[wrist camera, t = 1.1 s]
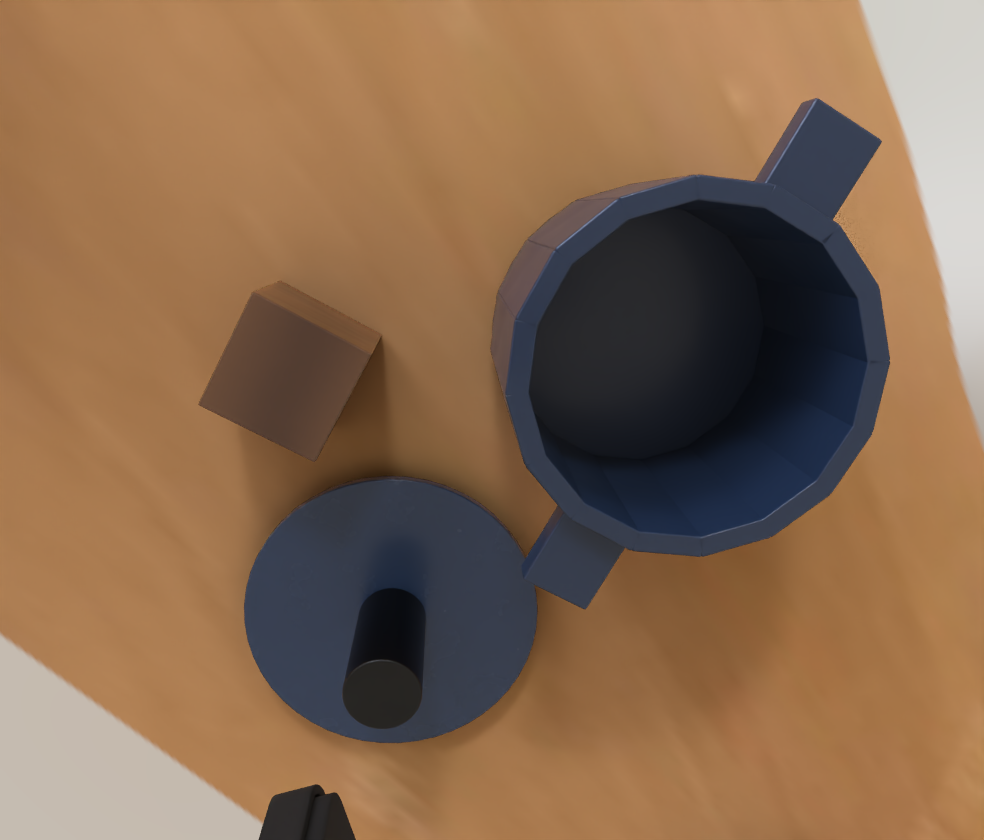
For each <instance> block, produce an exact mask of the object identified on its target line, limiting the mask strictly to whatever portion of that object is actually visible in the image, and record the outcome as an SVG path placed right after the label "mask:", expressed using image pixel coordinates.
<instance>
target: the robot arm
mask: <svg viewBox="0 0 984 840" xmlns="http://www.w3.org/2000/svg"><path fill="white" fill-rule="evenodd" d="M259 840H356V839H355V836H354V834H353V831H352V828H351V826H350V823H349V820H348V817H347V815H346V812H345V809H344V807H343V804H342V801H341V799H340V797H339V795H338V794H337V793H330V794H325V792H324V790H323V789H322V787H321V786H320V785H312V786H308V787H304V788H300V789H297V790H293V791H289V792H285V793H281V794H277V795H275V796H274V797H272V799H271V801H270V804H269V807H268V810H267V813H266V817H265V820H264V823H263V827H262V830H261V834H260V837H259Z"/></svg>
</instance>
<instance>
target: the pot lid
mask: <svg viewBox="0 0 984 840" xmlns="http://www.w3.org/2000/svg"><path fill="white" fill-rule="evenodd" d="M525 559H526V557H525V555H524V553H523V551H522V550H521V548H520V546H519V544H518V542H517V541H516V539H515V538H514V537H513V535H512V534H511V533H510V531H509V530H508V529H507V527H506V526H505V525H504V524H503V523H502V522H501V521H500V520H499V519H498V518H497V517H496V516H495V515H494V514H493V513H492V512H490V511H489V510H488V509H487V508H485V507H484V506H483V505H481V504H480V503H479V502H477V501H476V500H474V499H472V498H470V497H469V496H467V495H465V494H464V493H462V492H460V491H457V490H455V489H453V488H450V487H448V486H446V485H443V484H439V483H436V482H432V481H429V480H425V479H418V478H412V477H403V476H380V477H370V478H363V479H359V480H354V481H350V482H346V483H343V484H340V485H337V486H335V487H332V488H329V489H327V490H325V491H323V492H321V493H319V494H317V495H315V496H313V497H311V498H310V499H308V500H307V501H305V502H304V503H303V504H301V505H300V506H298V507H297V508H295V509H294V510H293V511H292V512H291V513H290V514H289V515H288V516H287V517H285V518H284V519H283V520H282V521H281V522H280V523H279V525H278V526H277V527H276V528H275V529H274V531H273V532H272V533H271V534H270V536H269V537H268V539H267V540H266V542H265V544H264V545H263V547H262V548H261V550H260V552H259V554H258V556H257V558H256V560H255V563H254V565H253V567H252V570H251V572H250V576H249V580H248V583H247V587H246V594H245V603H244V616H245V627H246V633H247V639H248V642H249V645H250V648H251V651H252V654H253V657H254V659H255V661H256V663H257V665H258V667H259V669H260V671H261V673H262V675H263V676H264V678H265V679H266V681H267V682H268V683H269V685H270V686H271V688H272V689H273V690H274V691H275V692H276V693H277V694H278V695H279V697H280V698H281V699H282V700H283V701H284V702H285V703H286V704H288V705H289V706H290V707H291V708H292V709H293V710H295V711H296V712H297V713H299V714H300V715H302V716H303V717H305V718H306V719H308V720H309V721H311V722H312V723H314V724H316V725H318V726H320V727H322V728H324V729H326V730H329V731H331V732H334V733H337V734H340V735H342V736H345V737H349V738H354V739H358V740H362V741H370V742H378V743H403V742H412V741H419V740H424V739H428V738H433V737H436V736H439V735H442V734H445V733H448V732H451V731H453V730H455V729H457V728H459V727H462V726H464V725H466V724H468V723H469V722H471V721H473V720H474V719H476V718H477V717H479V716H480V715H482V714H483V713H485V712H486V711H487V710H488V709H489V708H491V707H492V706H493V705H494V704H495V703H497V702H498V700H499V699H500V698H501V697H502V696H503V695H504V694H505V693H506V692H507V691H508V690H509V688H510V687H511V686H512V684H513V683H514V682H515V680H516V679H517V677H518V676H519V674H520V672H521V670H522V669H523V667H524V665H525V663H526V661H527V659H528V656H529V653H530V650H531V648H532V645H533V641H534V636H535V632H536V625H537V597H536V591H535V586H534V584H532V583H530V582H527V581H525V580H524V579H523V574H522V569H521V566H522V564H523V562H524V561H525Z"/></svg>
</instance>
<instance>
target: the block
mask: <svg viewBox="0 0 984 840" xmlns="http://www.w3.org/2000/svg"><path fill="white" fill-rule="evenodd" d="M380 338H381V334H379V333H378V332H376V331H374V330H372V329H370V328H368V327H366V326H364V325H362V324H361V323H359V322H357V321H355V320H353V319H351V318H349V317H347V316H346V315H344V314H342V313H340V312H338V311H336V310H334V309H332V308H331V307H329V306H327V305H325V304H323V303H321V302H319V301H317V300H316V299H314V298H312V297H310V296H308V295H306V294H304V293H302V292H301V291H299V290H297V289H295V288H293V287H291V286H289V285H287V284H286V283H284V282H282V281H278V282H275V283H273V284H271V285H268V286H266V287H263V288H261V289H259V290H256V291H254V292H252V294H251V296H250V298H249V300H248V302H247V304H246V306H245V308H244V310H243V312H242V314H241V317H240V319H239V321H238V323H237V325H236V327H235V329H234V331H233V333H232V335H231V337H230V339H229V341H228V343H227V346H226V348H225V350H224V352H223V354H222V356H221V358H220V360H219V362H218V364H217V366H216V368H215V370H214V372H213V374H212V377H211V379H210V381H209V383H208V385H207V387H206V389H205V391H204V393H203V395H202V397H201V399H200V401H199V405H200V406H202V407H204V408H206V409H208V410H210V411H212V412H214V413H216V414H218V415H220V416H222V417H224V418H226V419H228V420H230V421H232V422H234V423H236V424H238V425H240V426H242V427H244V428H246V429H248V430H250V431H252V432H254V433H256V434H258V435H260V436H262V437H264V438H266V439H268V440H270V441H273V442H275V443H277V444H279V445H281V446H283V447H285V448H287V449H289V450H291V451H293V452H295V453H297V454H299V455H301V456H303V457H305V458H307V459H309V460H311V461H313V462H315V461H316V460H317V458H318V456H319V454H320V452H321V450H322V448H323V447H324V445H325V443H326V441H327V439H328V437H329V435H330V433H331V431H332V429H333V428H334V426H335V424H336V422H337V420H338V418H339V416H340V414H341V412H342V410H343V409H344V407H345V405H346V403H347V401H348V399H349V397H350V395H351V393H352V391H353V390H354V388H355V386H356V384H357V382H358V380H359V378H360V376H361V374H362V372H363V371H364V369H365V367H366V365H367V363H368V361H369V359H370V357H371V355H372V353H373V351H374V350H375V348H376V346H377V344H378V342H379V340H380Z"/></svg>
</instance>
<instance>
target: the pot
mask: <svg viewBox="0 0 984 840" xmlns="http://www.w3.org/2000/svg"><path fill="white" fill-rule="evenodd" d="M881 142H882V141H881V140H880V139H879V138H877V137H876V136H874V135H873V134H871V133H870V132H868V131H867V130H865V129H864V128H862V127H861V126H859V125H858V124H856V123H855V122H853V121H852V120H850V119H849V118H847V117H846V116H844V115H842V114H841V113H839V112H838V111H836V110H835V109H833V108H832V107H830V106H829V105H827V104H826V103H824V102H823V101H821V100H820V99H817V98H815V99H812V100H809V101H806V102H803V103H802V104H801V105H800V107H799V109H798V110H797V112H796V114H795V115H794V117H793V118H792V120H791V122H790V123H789V125H788V127H787V128H786V130H785V132H784V133H783V135H782V137H781V138H780V140H779V142H778V143H777V145H776V147H775V148H774V150H773V152H772V153H771V155H770V156H769V158H768V160H767V161H766V163H765V165H764V166H763V168H762V170H761V171H760V173H759V175H758V176H757V178H756V180H755V181H747V180H739V179H731V178H723V177H715V176H708V175H700V174H699V175H689V176H682V177H676V178H669V179H662V180H655V181H648V182H641V183H635V184H629V185H626V186H622V187H619V188H615V189H612V190H609V191H605V192H600V193H598V194H595V195H592V196H588V197H585V198H581V199H578V200H575V202H572V203H571V204H569V205H568V206H567V207H566V208H564V209H563V210H562V211H560V212H559V213H557V214H556V215H555V216H553V217H552V218H550V219H549V220H548V221H547V222H546V223H544V224H543V225H542V226H541V227H540V228H539V229H538V230H537V231H536V232H535V233H534V234H532V235H531V236H530V237H529V238H528V239H527V240H526V241H525V243H524V245H523V246H522V248H521V250H520V251H519V253H518V254H517V256H516V257H515V259H514V260H513V262H512V264H511V265H510V267H509V269H508V272H507V274H506V276H505V278H504V280H503V282H502V284H501V286H500V288H499V290H498V293H497V298H496V306H495V311H494V317H493V329H492V340H491V354H492V358H493V361H494V365H495V368H496V372H497V375H498V379H499V382H500V385H501V389H502V392H503V396H504V399H505V403H506V406H507V409H508V413H509V416H510V419H511V422H512V425H513V429H514V432H515V435H516V438H517V441H518V445H519V448H520V451H521V454H522V457H523V461H524V464H525V465H526V467H527V469H528V470H529V471H530V472H531V473H532V475H533V476H534V477H535V478H536V479H537V481H538V482H539V483H540V484H541V485H542V487H543V488H544V489H545V490H546V491H547V493H548V494H549V495H550V496H551V498H552V499H553V500H554V501H555V502H556V504H557V505H558V506H557V508H556V509H555V511H554V513H553V514H552V516H551V518H550V519H549V521H548V523H547V524H546V526H545V528H544V529H543V531H542V532H541V534H540V536H539V537H538V539H537V541H536V542H535V544H534V546H533V547H532V549H531V551H530V552H529V554H528V556H527V557H526V559H525V561H524V562H523V564H522V566H521V569H522V574H523V579H524V580H525V581H527V582H530V583H532V584H534V585H536V586H538V587H540V588H542V589H544V590H546V591H548V592H550V593H552V594H554V595H556V596H558V597H560V598H562V599H564V600H566V601H568V602H570V603H572V604H574V605H576V606H579V607H581V608H583V609H586V608H587V607H588V605H589V604H590V602H591V600H592V599H593V597H594V596H595V594H596V593H597V591H598V589H599V588H600V586H601V585H602V583H603V582H604V580H605V578H606V577H607V575H608V574H609V572H610V570H611V569H612V567H613V566H614V564H615V563H616V561H617V559H618V558H619V556H620V555H621V553H622V552H623V550H624V548H627V549H629V550H633V551H639V552H651V553H662V554H674V555H686V556H697V557H700V556H702V557H704V556H707V555H711V554H714V553H718V552H721V551H725V550H728V549H732V548H735V547H739V546H742V545H746V544H749V543H753V542H756V541H760V540H763V539H767V538H770V537H772V536H774V535H775V534H777V533H778V532H779V531H781V530H782V529H783V528H785V527H786V526H788V525H789V524H790V523H792V522H793V521H795V520H796V519H797V518H799V517H800V516H802V515H803V514H804V513H806V512H807V511H808V510H810V509H811V508H813V507H814V506H815V505H817V504H818V503H820V502H821V501H822V500H824V499H825V498H826V497H828V496H829V495H830V494H831V493H832V492H833V490H834V489H835V487H836V486H837V485H838V483H839V482H840V480H841V479H842V477H843V476H844V474H845V473H846V471H847V470H848V468H849V467H850V466H851V464H852V463H853V461H854V460H855V458H856V457H857V455H858V454H859V452H860V451H861V450H862V448H863V447H864V445H865V444H866V442H867V441H868V439H869V438H870V436H871V435H872V432H873V430H874V426H875V422H876V417H877V413H878V409H879V405H880V401H881V397H882V393H883V389H884V385H885V381H886V377H887V373H888V369H889V364H890V361H889V360H890V356H889V349H888V342H887V336H886V329H885V322H884V316H883V309H882V302H881V295H880V289H879V286H878V284H877V282H876V281H875V279H874V278H873V276H872V275H871V273H870V272H869V270H868V268H867V267H866V265H865V264H864V262H863V261H862V259H861V257H860V256H859V254H858V253H857V251H856V250H855V248H854V247H853V245H852V243H851V242H850V240H849V239H848V237H847V236H846V234H845V232H844V231H843V229H842V228H841V226H840V225H839V224H838V223H836V222H835V221H833V218H834V217H835V215H836V214H837V212H838V210H839V209H840V207H841V206H842V204H843V203H844V201H845V199H846V198H847V196H848V195H849V193H850V191H851V190H852V188H853V187H854V185H855V184H856V182H857V180H858V179H859V177H860V176H861V174H862V173H863V171H864V169H865V168H866V166H867V165H868V163H869V161H870V160H871V158H872V157H873V155H874V154H875V152H876V150H877V149H878V147H879V146H880V144H881Z"/></svg>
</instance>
